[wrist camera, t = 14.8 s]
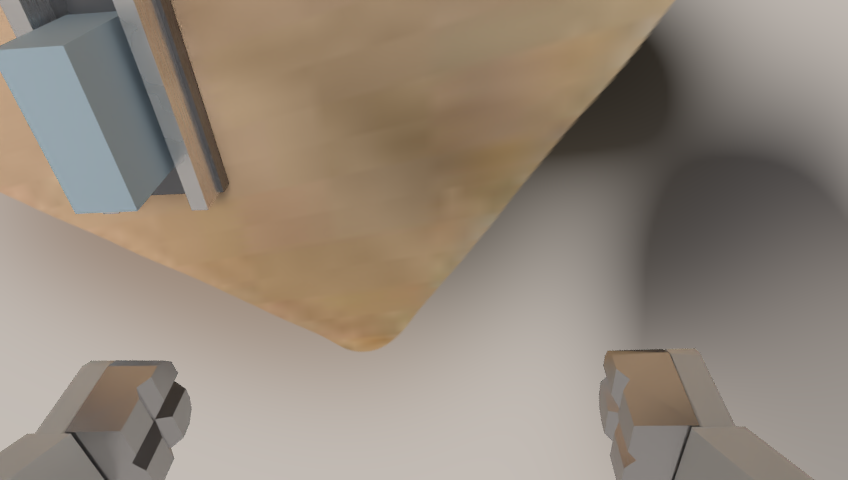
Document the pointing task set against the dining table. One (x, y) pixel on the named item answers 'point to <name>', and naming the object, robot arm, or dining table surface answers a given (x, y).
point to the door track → (152, 85)
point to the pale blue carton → (89, 111)
